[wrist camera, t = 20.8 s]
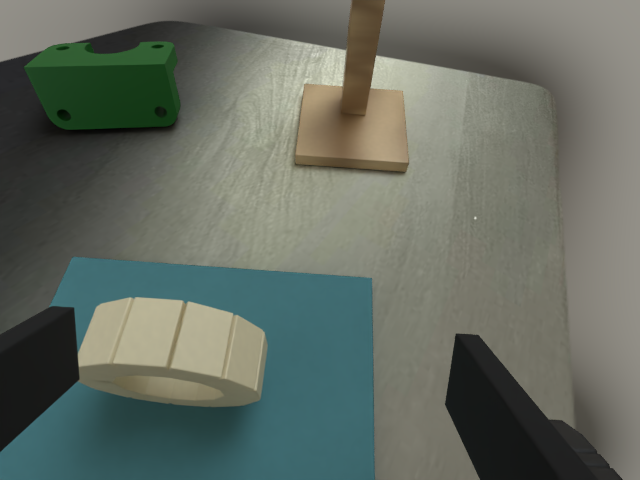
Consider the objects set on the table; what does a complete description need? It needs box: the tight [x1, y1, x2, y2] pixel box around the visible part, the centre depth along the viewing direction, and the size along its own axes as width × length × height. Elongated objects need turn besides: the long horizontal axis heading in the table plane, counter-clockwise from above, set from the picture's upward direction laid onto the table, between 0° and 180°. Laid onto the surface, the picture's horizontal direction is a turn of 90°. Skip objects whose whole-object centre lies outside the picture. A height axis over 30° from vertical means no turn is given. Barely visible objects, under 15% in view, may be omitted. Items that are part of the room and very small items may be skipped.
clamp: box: [24, 42, 180, 130], centre depth 36 cm, size 12×6×9 cm, turn 90°
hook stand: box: [295, 0, 409, 172], centre depth 29 cm, size 10×10×21 cm
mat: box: [0, 257, 375, 480], centre depth 25 cm, size 22×16×1 cm
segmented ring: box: [78, 297, 268, 407], centre depth 21 cm, size 9×3×9 cm, turn 87°
